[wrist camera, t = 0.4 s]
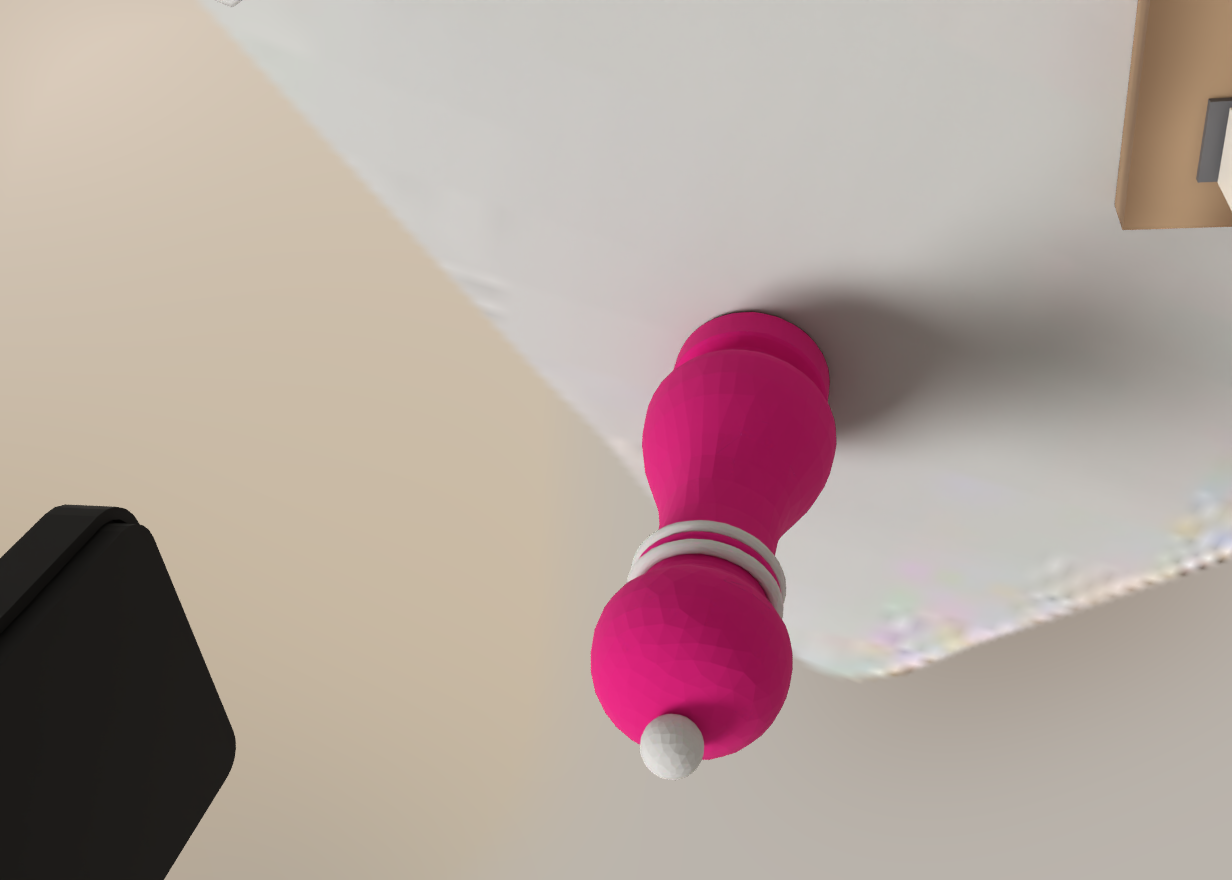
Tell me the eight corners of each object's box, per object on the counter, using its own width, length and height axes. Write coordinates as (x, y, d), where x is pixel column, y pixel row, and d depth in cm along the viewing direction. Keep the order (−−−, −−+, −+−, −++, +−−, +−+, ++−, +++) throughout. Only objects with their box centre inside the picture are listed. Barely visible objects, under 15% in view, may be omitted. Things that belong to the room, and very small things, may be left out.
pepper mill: (872, 339, 45) (846, 742, 29) (800, 473, 50) (743, 886, 34) (698, 272, 45) (577, 639, 29) (641, 412, 49) (509, 798, 34)
